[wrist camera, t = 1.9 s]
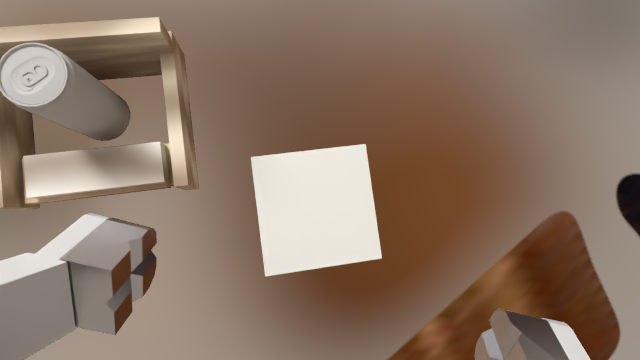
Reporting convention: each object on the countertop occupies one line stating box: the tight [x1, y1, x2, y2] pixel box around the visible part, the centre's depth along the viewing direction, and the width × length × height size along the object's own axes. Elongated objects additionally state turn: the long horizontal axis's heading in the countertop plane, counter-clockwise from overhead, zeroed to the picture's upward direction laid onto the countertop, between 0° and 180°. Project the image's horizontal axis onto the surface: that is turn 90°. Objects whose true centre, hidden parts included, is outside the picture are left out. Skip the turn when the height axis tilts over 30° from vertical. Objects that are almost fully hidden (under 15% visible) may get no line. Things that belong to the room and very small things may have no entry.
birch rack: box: [0, 17, 199, 210], centre depth 33 cm, size 14×16×9 cm
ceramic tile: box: [251, 144, 382, 276], centre depth 39 cm, size 12×12×1 cm
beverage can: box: [0, 43, 130, 141], centre depth 32 cm, size 5×5×12 cm
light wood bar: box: [22, 142, 174, 204], centre depth 35 cm, size 4×12×4 cm, turn 98°
